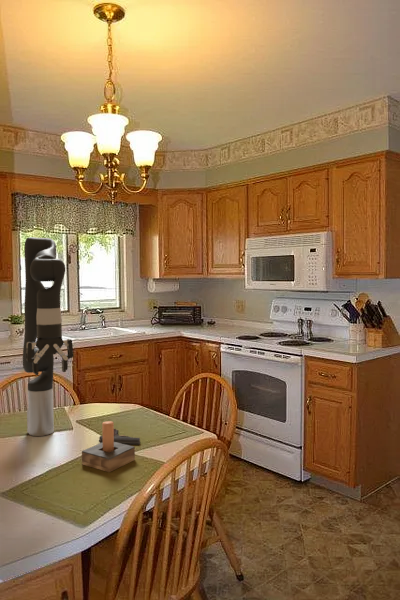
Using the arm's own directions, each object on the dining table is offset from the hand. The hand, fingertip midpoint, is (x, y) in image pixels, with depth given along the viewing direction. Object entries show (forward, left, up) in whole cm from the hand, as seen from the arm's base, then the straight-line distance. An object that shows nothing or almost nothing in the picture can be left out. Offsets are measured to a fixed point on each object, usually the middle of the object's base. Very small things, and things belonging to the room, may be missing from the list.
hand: (50, 373), depth 154 cm
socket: (+13, +12, -30) cm, 35 cm away
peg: (+13, +12, -29) cm, 34 cm away
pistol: (+2, +31, -31) cm, 43 cm away
